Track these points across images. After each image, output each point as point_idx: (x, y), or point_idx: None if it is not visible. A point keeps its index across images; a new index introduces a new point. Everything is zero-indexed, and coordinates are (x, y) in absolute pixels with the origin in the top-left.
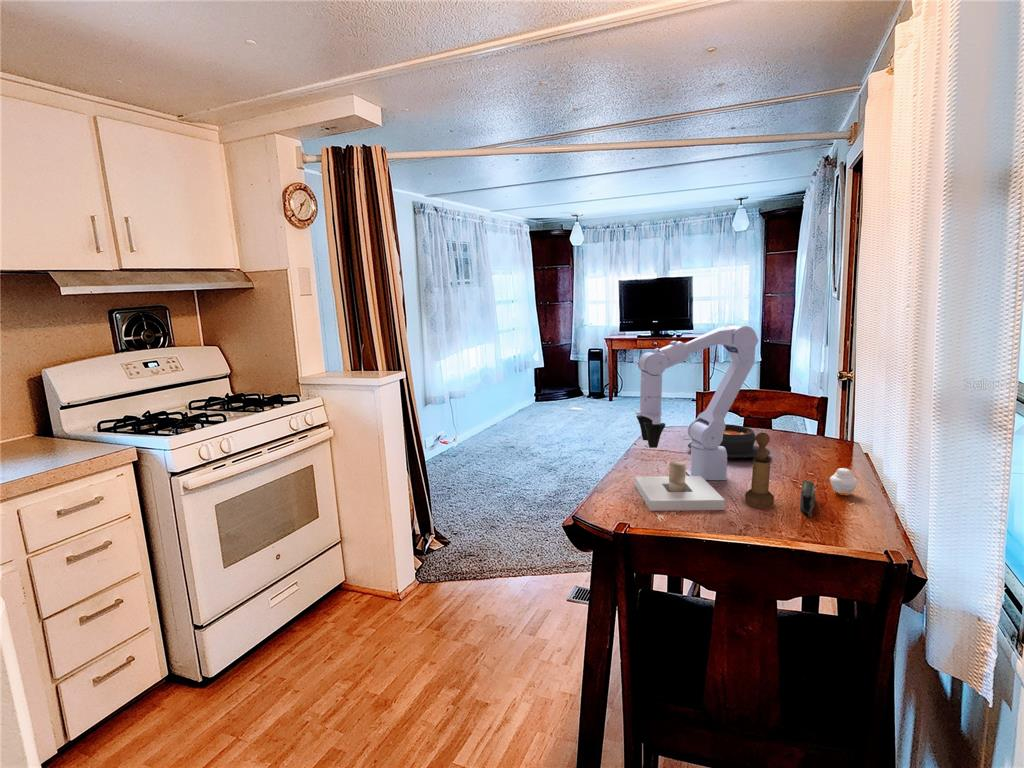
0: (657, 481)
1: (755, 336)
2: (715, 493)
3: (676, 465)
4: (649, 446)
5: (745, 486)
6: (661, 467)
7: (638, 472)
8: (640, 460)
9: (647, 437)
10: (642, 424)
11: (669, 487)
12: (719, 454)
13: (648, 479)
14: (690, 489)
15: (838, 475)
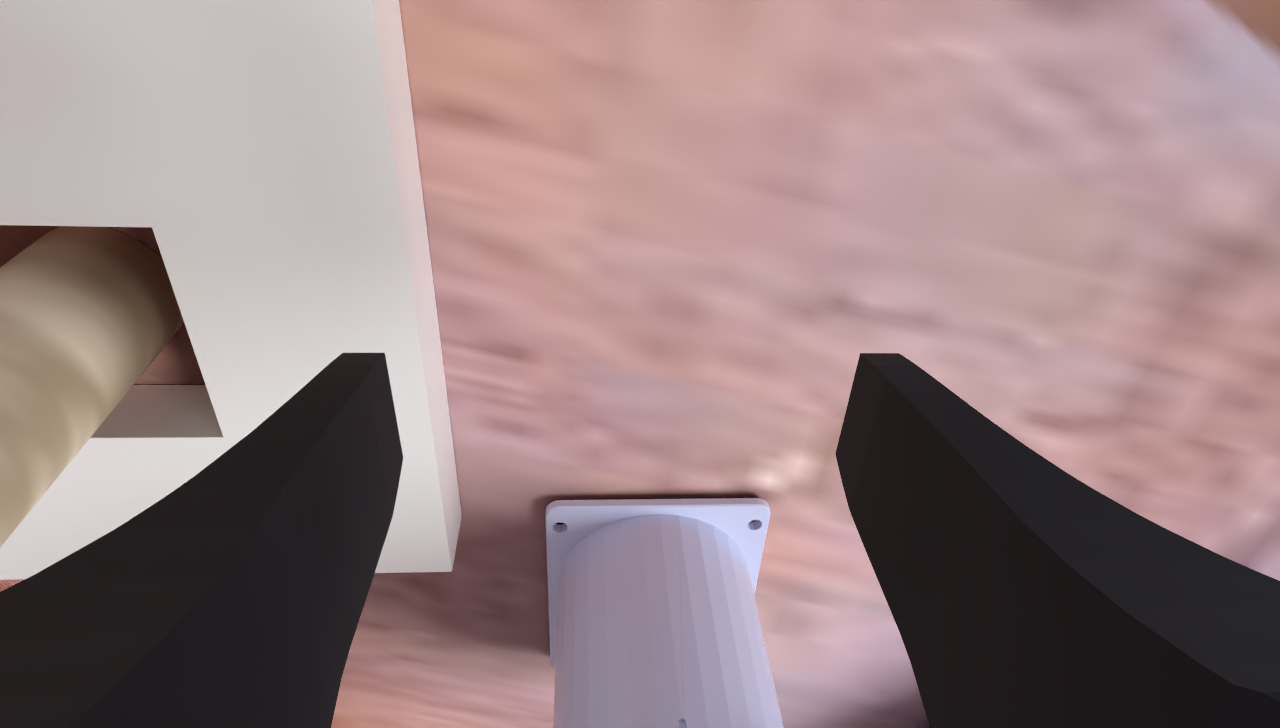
0: (221, 202)
1: None
2: (10, 563)
3: None
4: (330, 363)
5: (446, 702)
6: (939, 360)
7: (852, 110)
8: (1223, 228)
9: (864, 448)
10: (1029, 588)
11: (5, 272)
12: None
13: (277, 117)
14: None
15: None
